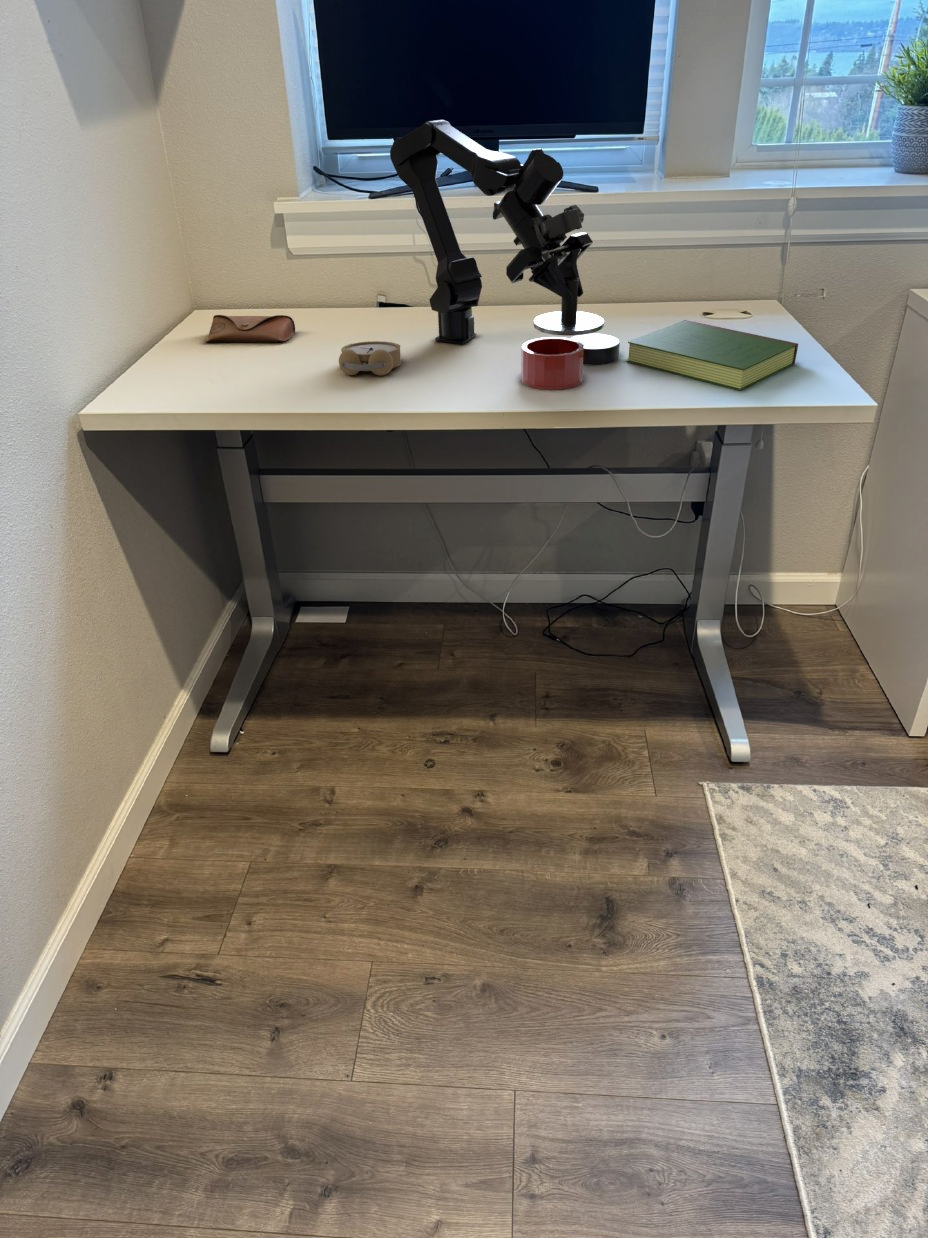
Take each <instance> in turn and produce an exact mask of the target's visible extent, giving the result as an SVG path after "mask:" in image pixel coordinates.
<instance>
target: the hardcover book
mask: <svg viewBox="0 0 928 1238" xmlns="http://www.w3.org/2000/svg"><path fill="white" fill-rule="evenodd" d="M627 344H628V345H629V346H628V359H626V362H627V363H631V364H633V365H638V366H642V367H646V368H649V369H653V370H658V371H662V372H665V373H669V374H673V375H678V376H682V377H685V378H689V379H692V380H697V381H701V382H705V383H708V384H713V385H717V386H720V387H724V388H729V389H732V390H736V391H739V392H741V391H743V390H745V389H747V388H749V387H751V386H753V385H756V384H757V383H759V382H761V381H763V380H765V379H767V378H769V377H771V376H773V375H775V374H777V373H780V372H782V371H783V370H786V369H788V368H790V367H791V366H793V365H795V364H796V360H797V354H798V348H799V343H798V342H793V341H788V340H783V339H779V338H773V337H769V336H764V335H758V334H756V333H755V334H754V333H750V332H746V331H739V330H736V329H730V328H726V327H721V326H717V325H712V324H707V323H702V322H697V321H692V320H687V319H684V320H682V321H678V322H675V323H674V324H671V325H668V326H665V327H663V328H660V329H658V330H655V331H652V332H649V333H646V334H644V335H642V336H639V337H636V338H634V339H631V340H629V341H627Z"/></svg>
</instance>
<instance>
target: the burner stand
mask: <svg viewBox="0 0 928 1238" xmlns="http://www.w3.org/2000/svg"><path fill="white" fill-rule="evenodd" d="M569 338H570V339H573V340H577V341H579V342H581V343H582V344H583V345H584V362H583V365H585V366H586V365H587V366H599V365H607V364H611V363H614V362H616V361H617V360H619V357H620V344H621V341H620V339H618V337H615V335H614V336H613V335H610V334H605V333H590V334H585V335H574V336H569Z"/></svg>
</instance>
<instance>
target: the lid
mask: <svg viewBox="0 0 928 1238" xmlns="http://www.w3.org/2000/svg"><path fill="white" fill-rule="evenodd" d="M564 280H565V282H566V284H567V285H568V287H569V289H570V291H571V293H572V296H573V298H572V299H571V300H570V301H567V300H566V299H564V298H562V297H561V305H560V306H561V310H560V311H552V312H551V311H550V312H547V313H543V314H539V315H537V316H536V317H535V318H534V319H533V323H532V324H533V327H534V330H537V331H539V332H541V333H544V334H548V335H553V336H568V337H572V336H576V335H585V334H595V333H597V332H600V331H601V330H602V329H603V328H604V327H605V320H604V318H603V317H601V316H600V315H598V314H595V313H590V312H585V311H578V301H579V297H578V280H579V279H578V278H575V277H566V278H564Z"/></svg>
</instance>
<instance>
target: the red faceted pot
mask: <svg viewBox="0 0 928 1238" xmlns="http://www.w3.org/2000/svg"><path fill="white" fill-rule="evenodd" d="M520 353H521V356H520V378H521V382H522V384H524V385H525V386H527V387H530V388H533V389H538V390H547V391H559V390H566V389H571V388H575V387H577V386H579V385H580V384H581V383H582V382H583V376H584V364H583V362H584V345H583V344H582V343H581V342H579V341H577V340H573V339H570V337H569V338H568V337H563V336H562V337H559V336H548V337H547V336H546V337H539V338H532V339H530V340H527V341H525V342H524V343H523V344H522V345H521V352H520Z"/></svg>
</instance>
